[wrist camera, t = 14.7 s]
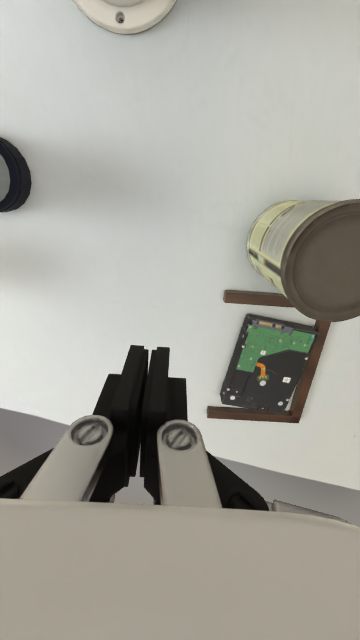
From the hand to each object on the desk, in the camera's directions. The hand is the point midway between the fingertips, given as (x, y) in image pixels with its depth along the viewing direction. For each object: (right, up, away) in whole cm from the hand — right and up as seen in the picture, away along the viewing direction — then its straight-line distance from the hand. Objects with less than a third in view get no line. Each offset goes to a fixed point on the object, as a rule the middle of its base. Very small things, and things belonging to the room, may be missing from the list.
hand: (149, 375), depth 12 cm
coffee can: (+15, +13, +24) cm, 31 cm away
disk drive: (+14, -4, +32) cm, 35 cm away
